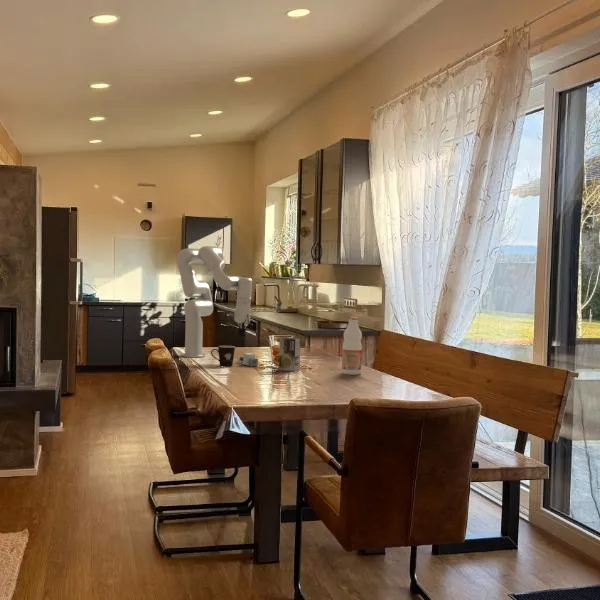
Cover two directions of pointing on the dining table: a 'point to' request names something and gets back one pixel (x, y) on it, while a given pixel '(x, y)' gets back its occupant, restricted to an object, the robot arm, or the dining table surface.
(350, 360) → the fruit juice
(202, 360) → the dining table surface
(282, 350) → the coffee box
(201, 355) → the robot arm
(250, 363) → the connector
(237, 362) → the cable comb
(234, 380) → the dining table surface
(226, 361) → the coffee mug
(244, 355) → the white cube on rod
